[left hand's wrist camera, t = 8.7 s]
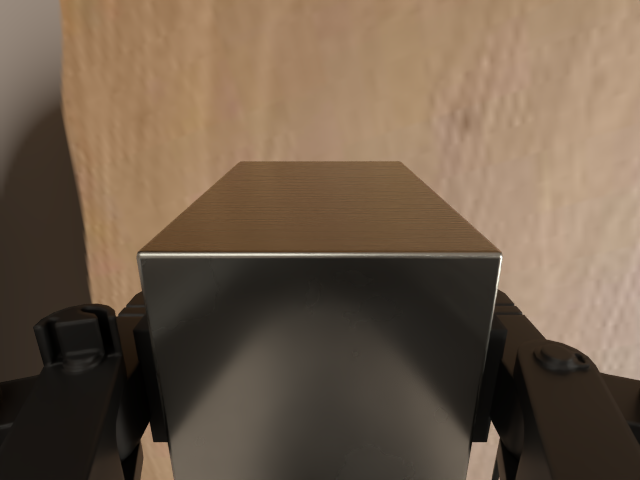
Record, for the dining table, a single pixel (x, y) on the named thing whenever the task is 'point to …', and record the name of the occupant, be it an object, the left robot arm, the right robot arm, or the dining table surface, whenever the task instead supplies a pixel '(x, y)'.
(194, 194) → the dining table surface
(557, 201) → the dining table surface
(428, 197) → the bar
